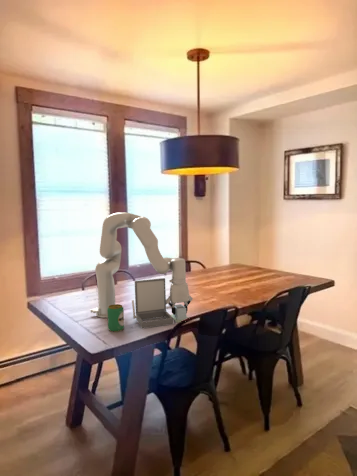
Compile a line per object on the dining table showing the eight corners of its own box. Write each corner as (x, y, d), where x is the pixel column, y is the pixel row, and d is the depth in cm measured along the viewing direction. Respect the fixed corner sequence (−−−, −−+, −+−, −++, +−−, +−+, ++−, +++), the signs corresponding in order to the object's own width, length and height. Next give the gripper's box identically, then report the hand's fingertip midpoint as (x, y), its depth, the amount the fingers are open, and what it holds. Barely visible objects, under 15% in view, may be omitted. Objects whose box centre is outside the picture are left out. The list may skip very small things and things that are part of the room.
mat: (176, 322, 191) (176, 321, 191) (169, 315, 203) (169, 314, 203) (190, 320, 193) (190, 319, 193) (182, 313, 205) (182, 313, 205)
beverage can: (119, 332, 178) (118, 309, 177) (105, 331, 181) (104, 307, 180) (127, 327, 185) (126, 304, 184) (113, 325, 188) (112, 303, 187)
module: (177, 320, 193) (177, 308, 193) (173, 315, 201) (172, 304, 200) (186, 318, 195) (186, 307, 194) (181, 314, 203) (181, 303, 202)
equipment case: (138, 328, 183) (136, 287, 180) (132, 319, 197) (130, 281, 195) (173, 323, 189) (172, 283, 186) (165, 315, 203) (164, 278, 201)
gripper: (165, 284, 190) (166, 317, 192) (196, 281, 195) (196, 313, 197) (161, 281, 197) (162, 313, 199) (191, 278, 202) (191, 309, 204)
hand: (179, 313), depth 198 cm, fingers open, 6 cm apart
